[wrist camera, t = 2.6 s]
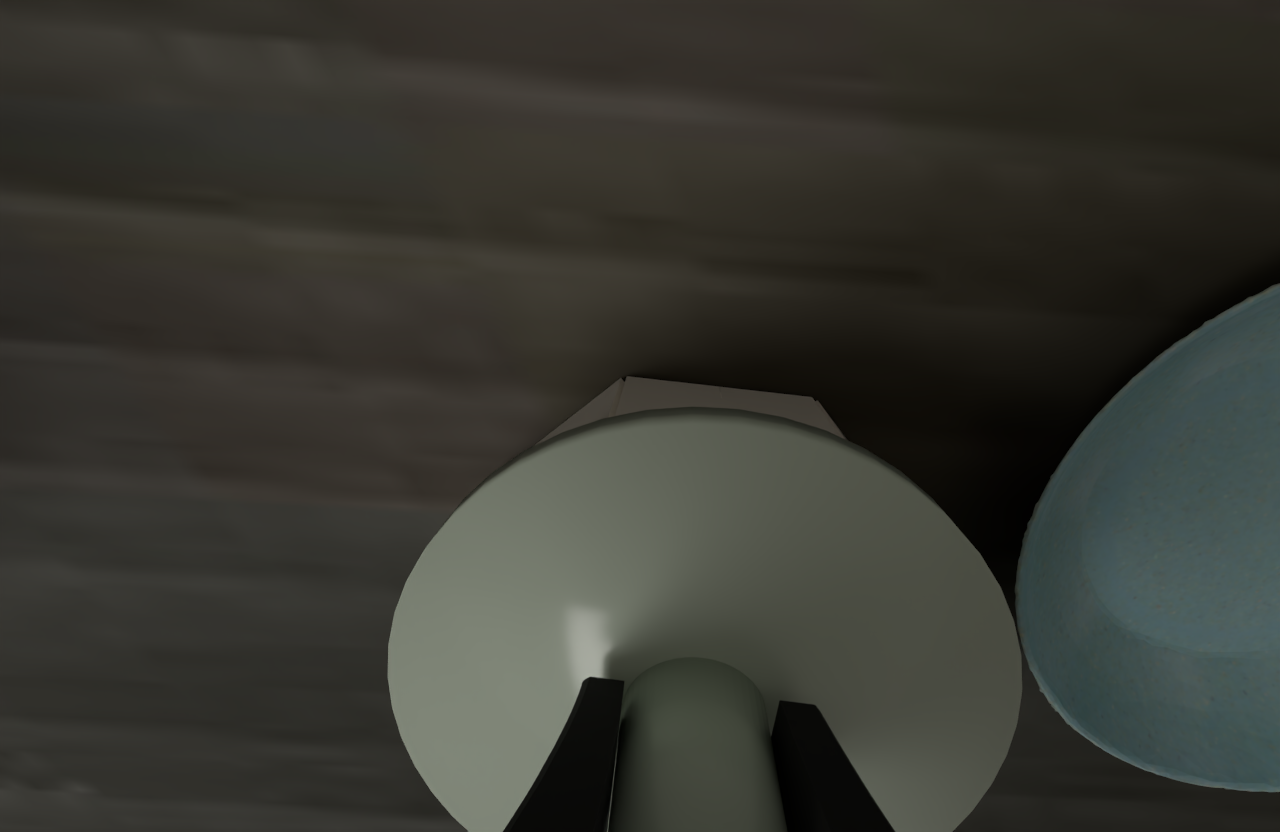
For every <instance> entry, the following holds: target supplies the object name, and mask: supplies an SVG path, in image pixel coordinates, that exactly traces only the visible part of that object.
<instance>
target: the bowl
mask: <svg viewBox="0 0 1280 832" xmlns="http://www.w3.org/2000/svg"><path fill="white" fill-rule="evenodd" d="M679 407H710V408H729V409H741V410H746V411H752V412H758V413H763V414H769V415H775V416H780V417H785V418H788V419H791V420H794V421H797V422H801V423H804V424H807V425H810V426H813V427H817V428H820V429H823V430H826V431H828V432H830V433H833V434H835V435H837V436H839V437H841V438H843V439H846V437H845V436H844V435H843V433H842V432H841V431H840V429H839V428H838V427H837V425H836V424H835V423H834V421H833V420H832V419H831V417H830V416H829V415H828V413H827V412H826V411H825V409H824V408H823V407H822V405H821V404H820V403H819V401H818V400H817V401H815V400H814V399H813V398H812V397H807V396H798V395H789V394H780V393H771V392H762V391H753V390H745V389H736V388H727V387H718V386H709V385H700V384H691V383H683V382H674V381H665V380H656V379H647V378H638V377H629V376H627V377H626V380H625V382H624V381H623V380H622V378H620V379H619V380H617V381H616V382H615V383H614V384H612V385H611V386H610V387H609V388H607V389H606V390H605V391H603V392H602V393H601V394H600V395H598V396H597V397H596V398H594V399H593V400H592V401H591V402H589V403H588V404H587V405H586V406H584V407H583V408H582V409H580V410H579V411H578V412H577V413H575V414H574V415H573V416H571V417H570V418H569V419H568V420H566V421H565V422H564V423H562V424H561V425H560V426H559V427H557V428H556V429H555V430H554V431H552V432H551V433H550V434H548V435H547V436H546V437H545V438H543V439H542V440H541V441H539V442H538V443H537V444H539V443H541V442H543V441H545V440H547V439H549V438H552V437H554V436H556V435H558V434H560V433H562V432H564V431H567V430H570V429H573V428H576V427H579V426H582V425H585V424H588V423H591V422H594V421H597V420H600V419H603V418H608V417H613V416H618V415H623V414H628V413H633V412H638V411H643V410H651V409H665V408H679ZM846 440H847V439H846ZM537 444H536V445H537ZM534 446H535V445H534Z"/></svg>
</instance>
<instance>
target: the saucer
mask: <svg viewBox="0 0 1280 832" xmlns="http://www.w3.org/2000/svg"><path fill="white" fill-rule="evenodd" d="M1022 544H1023V545H1022V549H1021V553H1020V557H1019V560H1018V566H1017V574H1016V585H1015V594H1016V601H1015V608H1016V617H1017V625H1018V627H1017V629H1018V632H1019V636H1020V639H1021V645H1022V648H1023V651H1024V654H1025V656H1026V659H1027V661H1028V664H1029V668H1030V670H1031V671H1032V673H1033V675H1034V676H1035V678H1036V680H1037V683H1038V685H1039V687H1040V689H1039V690H1040V692H1043V693H1044V694H1045V696H1046V698H1047V699H1048V702H1049V703H1050V704H1052V705H1051V706H1052V707H1053V708H1054V709H1055V711H1057V712H1059V713H1060V715H1061V716H1062V717H1063V719H1064V720H1065V722H1066V723H1067V724H1068V725H1070V726H1071V727H1072V728H1073V729H1074V730H1076V731H1077V732H1079V733H1080V734H1081V735H1083V736H1084V737H1085V738H1087V739H1089V740H1090V741H1091V742H1092V743H1094V744H1095V745H1096V746H1098V747H1100V748H1101V749H1103V750H1104V751H1106V752H1108V753H1110V754H1111V755H1113V756H1115V757H1117V758H1119V759H1121V760H1123V761H1125V762H1127V763H1130V764H1132V765H1134V766H1136V767H1139V768H1141V769H1143V770H1145V771H1149V772H1153V773H1155V774H1157V775H1161V776H1165V777H1168V778H1171V779H1174V780H1178V781H1182V782H1186V783H1191V784H1196V785H1201V786H1207V787H1215V788H1225V789H1235V790H1242V791H1250V792H1254V791H1266V792H1280V283H1279V284H1276V285H1272V286H1271V287H1269V288H1267V289H1266V290H1264V291H1262V292H1260V293H1258V294H1256V295H1254V296H1252V297H1248V298H1247V299H1246V300H1244V301H1243V302H1241V303H1239V304H1237V305H1235V306H1233V307H1231V308H1230V309H1228V310H1226V311H1224V312H1223V313H1221V314H1219V315H1217V316H1216V317H1215V318H1213V319H1211V320H1208V321H1206V322H1204V324H1203V325H1202V326H1201V327H1199V328H1198V329H1196V330H1194V331H1193V332H1192V333H1190V334H1189V335H1188V336H1186V337H1184V338H1182V339H1181V340H1179V341H1178V342H1176V343H1174V344H1173V345H1172V346H1171V347H1170V348H1168V349H1167V350H1165V351H1164V352H1163V353H1161V354H1160V355H1159V356H1157V357H1156V358H1155V359H1154V360H1153V361H1152V362H1151V363H1150V364H1148V365H1147V366H1146V367H1145V368H1144V369H1143V370H1142V371H1140V372H1139V373H1138V374H1137V375H1136V376H1134V377H1133V378H1132V379H1131V380H1130V381H1129V382H1128V383H1127V384H1126V385H1125V386H1124V387H1123V388H1122V389H1121V390H1120V391H1119V392H1118V393H1117V394H1116V395H1115V396H1114V397H1113V398H1112V399H1111V400H1110V401H1109V402H1108V403H1107V404H1106V405H1105V406H1104V407H1103V408H1102V409H1101V411H1100V412H1099V413H1098V414H1097V415H1096V416H1095V417H1094V418H1093V419H1092V421H1091V422H1090V423H1089V424H1088V425H1087V427H1086V428H1085V429H1084V430H1083V432H1082V433H1081V434H1080V435H1079V437H1078V438H1077V439H1076V441H1075V442H1074V444H1073V445H1072V446H1071V448H1070V449H1069V451H1068V452H1067V453H1066V455H1065V456H1064V458H1063V459H1062V461H1061V462H1060V464H1059V465H1058V467H1057V469H1056V470H1055V472H1054V474H1052V475H1051V477H1050V480H1049V482H1048V484H1047V485H1046V487H1045V489H1044V491H1043V493H1042V495H1041V497H1040V499H1039V501H1038V502H1037V503H1036V505H1035V508H1034V511H1033V515H1032V517H1031V518H1030V521H1029V522H1028V524H1027V530H1026V532H1025V533H1024V538H1023V540H1022Z"/></svg>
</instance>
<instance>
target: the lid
mask: <svg viewBox="0 0 1280 832" xmlns="http://www.w3.org/2000/svg"><path fill="white" fill-rule="evenodd" d="M588 677H598V678H606V679H614V680H622V681H625V682H624V690H623V699H622V708H621V717H620V726H619V735H618V743H617V752H616V761H615V769H614V778H613V787H612V795H611V804H610V813H609V821H608V830H607V832H788V831H787V825H786V820H785V814H784V808H783V803H782V797H781V791H780V785H779V780H778V774H777V768H776V762H775V757H774V751H773V745H772V740H771V735H772V731H773V727H774V722H775V718H776V714H777V709H778V705H779V701H780V700H782V701H790V702H798V703H806V704H814V705H816V706H817V708H818V709H819V710H820V712H821V713H822V715H823V717H824V718H825V720H826V722H827V723H828V725H829V727H830V729H831V730H832V732H833V734H834V735H835V737H836V739H837V740H838V742H839V744H840V745H841V747H842V749H843V750H844V752H845V754H846V755H847V757H848V759H849V760H850V762H851V764H852V765H853V767H854V768H855V770H856V772H857V773H858V775H859V777H860V778H861V780H862V781H863V783H864V785H865V786H866V788H867V789H868V791H869V792H870V794H871V796H872V797H873V799H874V800H875V802H876V803H877V805H878V806H879V808H880V809H881V811H882V812H883V814H884V815H885V817H886V818H887V820H888V821H889V823H890V824H891V826H892V827H893V829H894V830H895V832H952V831H953V830H954V829H955V828H956V827H957V826H958V825H959V824H960V823H961V822H962V821H963V820H964V819H965V818H966V817H967V816H968V815H969V814H970V813H971V812H972V811H973V809H974V808H975V806H976V805H977V804H978V802H979V801H980V800H981V798H982V797H983V795H984V794H985V793H986V791H987V790H988V789H989V787H990V786H991V784H992V783H993V781H994V779H995V777H996V775H997V773H998V771H999V769H1000V767H1001V765H1002V763H1003V761H1004V759H1005V758H1006V756H1007V753H1008V750H1009V747H1010V744H1011V741H1012V738H1013V735H1014V732H1015V729H1016V726H1017V722H1018V715H1019V709H1020V702H1021V695H1022V662H1021V652H1020V647H1019V642H1018V637H1017V633H1016V628H1015V623H1014V620H1013V617H1012V615H1011V612H1010V610H1009V607H1008V605H1007V602H1006V600H1005V597H1004V595H1003V592H1002V590H1001V587H1000V585H999V584H998V582H997V580H996V579H995V577H994V576H993V574H992V572H991V571H990V569H989V567H988V566H987V564H986V562H985V561H984V559H983V558H982V556H981V554H980V553H979V552H978V551H977V549H976V548H975V547H974V546H973V545H972V544H971V542H970V541H969V540H968V539H967V538H966V537H965V535H964V534H963V533H962V532H961V531H960V530H959V528H958V527H957V526H956V525H955V524H954V523H953V522H952V520H951V519H950V518H949V517H948V516H947V515H946V513H945V512H944V511H943V510H942V509H941V508H940V507H939V505H938V504H937V503H936V502H935V501H934V500H933V498H932V497H930V496H929V495H928V494H927V493H926V492H925V491H923V490H922V489H921V488H920V487H919V486H918V485H916V484H915V483H914V482H913V481H912V480H911V479H909V478H908V477H907V476H906V475H905V474H904V473H902V472H901V471H900V470H898V469H897V468H895V467H894V466H892V465H890V464H889V463H887V462H886V461H884V460H883V459H881V458H879V457H878V456H876V455H875V454H873V453H872V452H870V451H868V450H867V449H865V448H863V447H861V446H859V445H857V444H854V443H852V442H850V441H848V440H846V439H843V438H841V437H839V436H837V435H835V434H833V433H830V432H828V431H826V430H823V429H820V428H817V427H813V426H810V425H807V424H804V423H801V422H797V421H794V420H791V419H788V418H785V417H780V416H775V415H769V414H763V413H758V412H752V411H746V410H741V409H729V408H710V407H679V408H665V409H651V410H643V411H638V412H633V413H628V414H623V415H618V416H613V417H608V418H603V419H600V420H597V421H594V422H591V423H588V424H585V425H582V426H579V427H576V428H573V429H570V430H567V431H564V432H562V433H560V434H558V435H556V436H554V437H552V438H549V439H547V440H545V441H543V442H541V443H539V444H537V445H535V446H533V447H531V448H529V449H527V450H525V451H524V452H522V453H521V454H519V455H518V456H516V457H515V458H513V459H512V460H510V461H509V462H507V463H506V464H504V465H503V466H501V467H500V468H498V469H497V470H495V471H494V472H492V473H491V474H490V475H489V476H488V477H487V478H486V479H485V480H484V481H483V482H481V483H480V484H479V485H478V486H477V487H476V488H475V489H474V490H473V491H472V492H471V493H469V494H468V495H467V496H466V497H465V498H464V499H463V501H462V502H461V503H460V504H459V505H458V507H457V508H456V509H455V510H454V512H453V513H452V514H451V515H450V517H449V518H448V519H447V520H446V521H445V523H444V524H443V525H442V527H441V528H440V529H439V531H438V532H437V533H436V535H435V536H434V537H433V539H432V540H431V541H430V543H429V544H428V546H427V547H426V548H425V550H424V551H423V553H422V555H421V556H420V558H419V560H418V562H417V563H416V565H415V567H414V569H413V570H412V572H411V574H410V576H409V577H408V579H407V581H406V583H405V586H404V589H403V591H402V594H401V597H400V600H399V602H398V605H397V608H396V610H395V613H394V618H393V624H392V629H391V634H390V639H389V645H388V682H389V689H390V696H391V703H392V709H393V712H394V715H395V719H396V722H397V725H398V728H399V732H400V735H401V738H402V740H403V742H404V744H405V746H406V748H407V751H408V753H409V755H410V757H411V759H412V761H413V763H414V765H415V767H416V769H417V770H418V772H419V773H420V775H421V776H422V778H423V779H424V781H425V782H426V784H427V785H428V787H429V788H430V790H431V792H432V793H433V794H434V795H435V796H436V797H437V799H438V800H439V801H440V802H441V803H442V805H443V806H444V807H445V808H446V809H447V810H448V812H449V813H450V814H451V815H452V816H453V817H454V818H455V819H456V820H457V821H458V822H459V823H460V824H461V825H462V826H463V827H465V828H466V829H467V830H468V831H469V832H503V831H504V829H505V827H506V826H507V824H508V823H509V821H510V820H511V818H512V817H513V815H514V813H515V812H516V810H517V809H518V807H519V806H520V804H521V803H522V801H523V799H524V798H525V796H526V795H527V793H528V791H529V790H530V788H531V786H532V785H533V783H534V781H535V779H536V778H537V776H538V774H539V772H540V771H541V769H542V767H543V765H544V763H545V762H546V760H547V758H548V756H549V755H550V753H551V751H552V749H553V748H554V746H555V744H556V742H557V740H558V738H559V736H560V734H561V732H562V730H563V728H564V726H565V724H566V722H567V720H568V718H569V715H570V713H571V711H572V709H573V706H574V704H575V702H576V699H577V697H578V694H579V691H580V688H581V685H582V682H583V680H585V679H587V678H588Z"/></svg>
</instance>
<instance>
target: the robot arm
mask: <svg viewBox="0 0 1280 832" xmlns="http://www.w3.org/2000/svg"><path fill="white" fill-rule="evenodd" d="M624 682H625V681H622V680H614V679H606V678H598V677H588V678H587V679H585V680H583V682H582V685H581V688H580V691H579V694H578V697H577V699H576V702H575V704H574V706H573V709H572V711H571V713H570V715H569V718H568V720H567V722H566V724H565V726H564V728H563V730H562V732H561V734H560V736H559V738H558V740H557V742H556V744H555V746H554V748H553V749H552V751H551V753H550V755H549V756H548V758H547V760H546V762H545V763H544V765H543V767H542V769H541V771H540V772H539V774H538V776H537V778H536V779H535V781H534V783H533V785H532V786H531V788H530V790H529V791H528V793H527V795H526V796H525V798H524V799H523V801H522V803H521V804H520V806H519V807H518V809H517V810H516V812H515V813H514V815H513V817H512V818H511V820H510V821H509V823H508V824H507V826H506V827H505V829H504V831H503V832H607V830H608V821H609V813H610V804H611V795H612V787H613V778H614V769H615V761H616V752H617V743H618V735H619V726H620V717H621V708H622V699H623V690H624ZM771 740H772V745H773V751H774V757H775V762H776V768H777V774H778V780H779V785H780V791H781V797H782V803H783V808H784V814H785V820H786V825H787V831H788V832H895V830H894V829H893V827H892V826H891V824H890V823H889V821H888V820H887V818H886V817H885V815H884V814H883V812H882V811H881V809H880V808H879V806H878V805H877V803H876V802H875V800H874V799H873V797H872V796H871V794H870V792H869V791H868V789H867V788H866V786H865V785H864V783H863V781H862V780H861V778H860V777H859V775H858V773H857V772H856V770H855V768H854V767H853V765H852V764H851V762H850V760H849V759H848V757H847V755H846V754H845V752H844V750H843V749H842V747H841V745H840V744H839V742H838V740H837V739H836V737H835V735H834V734H833V732H832V730H831V729H830V727H829V725H828V723H827V722H826V720H825V718H824V717H823V715H822V713H821V712H820V710H819V709H818V708H817V706H816V705H814V704H806V703H798V702H790V701H782V700H780V701H779V705H778V709H777V714H776V718H775V722H774V727H773V731H772V735H771Z"/></svg>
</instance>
